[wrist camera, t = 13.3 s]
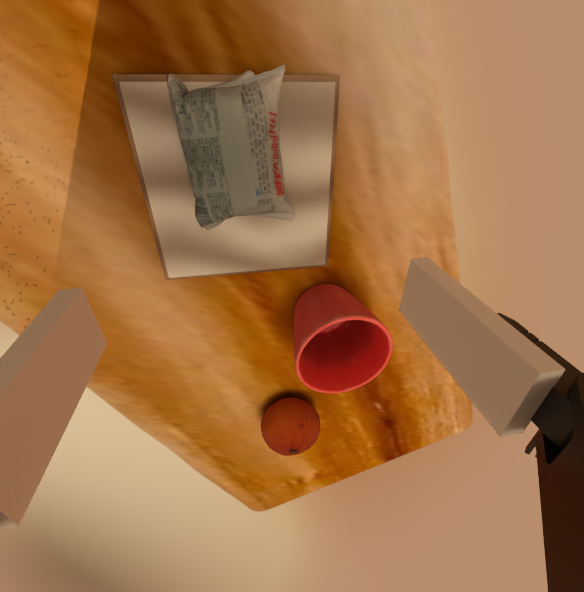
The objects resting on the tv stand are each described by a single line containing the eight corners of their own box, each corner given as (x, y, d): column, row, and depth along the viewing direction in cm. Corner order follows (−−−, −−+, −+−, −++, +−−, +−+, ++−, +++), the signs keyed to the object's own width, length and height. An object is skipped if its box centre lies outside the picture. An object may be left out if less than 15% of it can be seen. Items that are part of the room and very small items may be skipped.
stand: (117, 75, 25) (109, 73, 23) (334, 76, 27) (341, 74, 25) (168, 273, 34) (165, 282, 33) (324, 260, 37) (329, 267, 35)
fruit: (248, 415, 50) (252, 464, 43) (281, 381, 47) (290, 427, 40) (291, 429, 54) (300, 475, 47) (323, 398, 51) (338, 443, 44)
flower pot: (264, 315, 40) (273, 370, 32) (324, 255, 37) (352, 299, 28) (319, 351, 45) (339, 406, 37) (376, 300, 42) (412, 349, 34)
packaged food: (281, 68, 24) (291, 62, 20) (290, 214, 31) (300, 232, 27) (168, 75, 23) (155, 71, 19) (202, 225, 30) (198, 245, 26)
